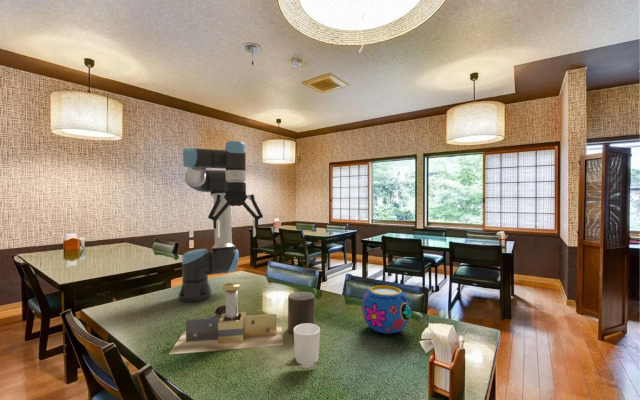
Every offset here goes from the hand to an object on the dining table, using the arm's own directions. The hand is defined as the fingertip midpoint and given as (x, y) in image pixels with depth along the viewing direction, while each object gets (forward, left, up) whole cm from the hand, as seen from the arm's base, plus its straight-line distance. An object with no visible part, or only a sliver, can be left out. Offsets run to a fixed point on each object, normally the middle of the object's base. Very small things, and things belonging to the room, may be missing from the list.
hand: (236, 236), depth 112 cm
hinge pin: (+13, 0, -33) cm, 35 cm away
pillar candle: (+11, +24, -35) cm, 43 cm away
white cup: (+30, +24, -35) cm, 51 cm away
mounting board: (+13, 0, -34) cm, 36 cm away
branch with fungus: (-3, -8, -35) cm, 36 cm away
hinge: (+13, 0, -33) cm, 35 cm away
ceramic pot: (+14, +55, -35) cm, 66 cm away
